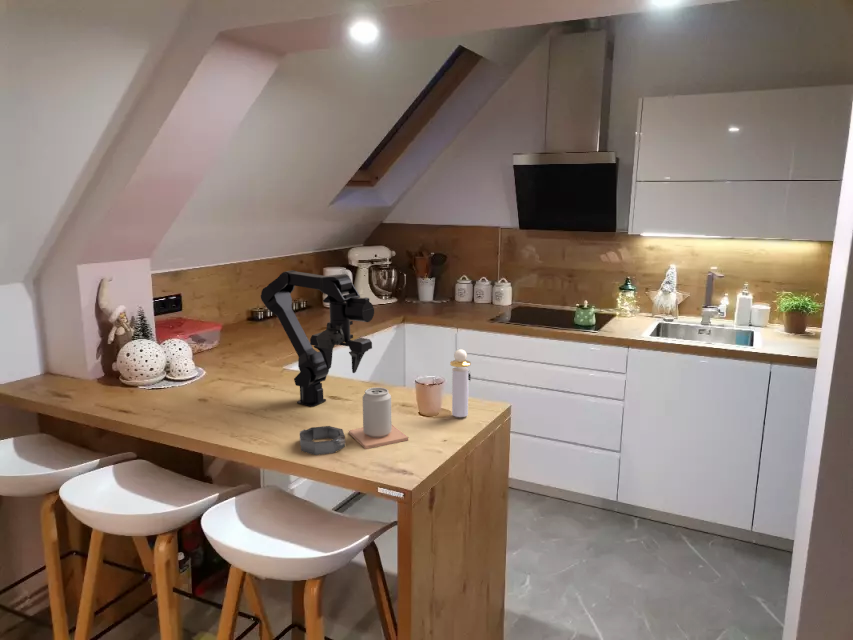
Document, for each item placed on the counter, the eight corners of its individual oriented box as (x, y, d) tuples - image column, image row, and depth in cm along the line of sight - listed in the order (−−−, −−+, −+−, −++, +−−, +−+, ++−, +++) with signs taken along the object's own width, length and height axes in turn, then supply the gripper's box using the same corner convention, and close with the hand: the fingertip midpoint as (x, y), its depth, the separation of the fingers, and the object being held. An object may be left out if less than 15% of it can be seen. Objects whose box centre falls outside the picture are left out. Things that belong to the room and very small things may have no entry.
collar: (287, 447, 164) (287, 436, 163) (316, 433, 173) (315, 422, 173) (329, 458, 157) (328, 447, 157) (356, 443, 167) (356, 432, 166)
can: (392, 428, 175) (391, 385, 172) (391, 438, 167) (390, 394, 165) (364, 428, 174) (363, 386, 172) (362, 439, 167) (361, 395, 165)
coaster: (348, 432, 173) (348, 430, 173) (389, 425, 179) (389, 422, 179) (365, 448, 163) (365, 446, 163) (408, 440, 168) (408, 437, 168)
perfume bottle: (461, 421, 181) (461, 353, 177) (445, 416, 185) (446, 349, 181) (474, 416, 185) (475, 349, 181) (458, 411, 189) (459, 345, 185)
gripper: (296, 320, 183) (298, 372, 187) (348, 327, 174) (350, 382, 178) (321, 313, 193) (323, 363, 196) (372, 319, 184) (373, 372, 187)
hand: (341, 370), depth 189 cm, fingers open, 9 cm apart
